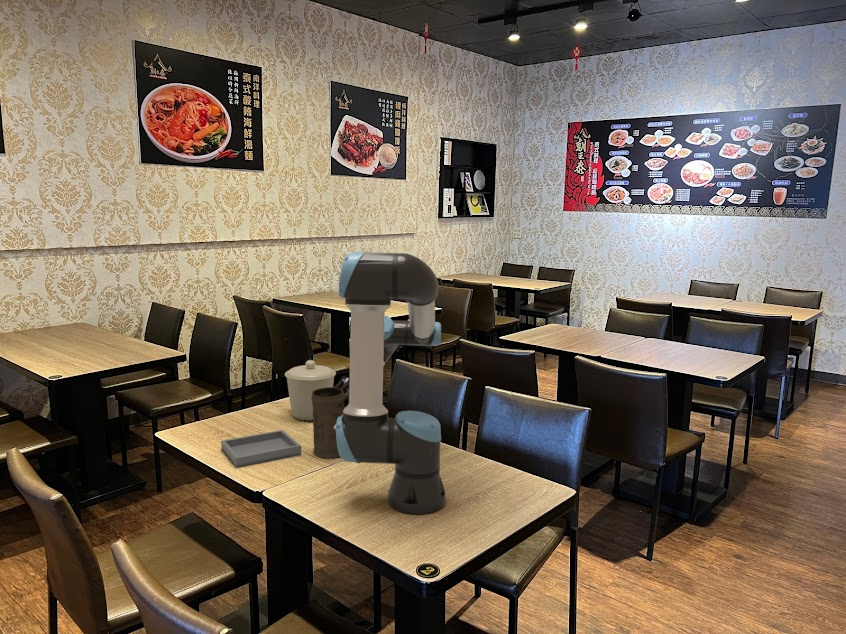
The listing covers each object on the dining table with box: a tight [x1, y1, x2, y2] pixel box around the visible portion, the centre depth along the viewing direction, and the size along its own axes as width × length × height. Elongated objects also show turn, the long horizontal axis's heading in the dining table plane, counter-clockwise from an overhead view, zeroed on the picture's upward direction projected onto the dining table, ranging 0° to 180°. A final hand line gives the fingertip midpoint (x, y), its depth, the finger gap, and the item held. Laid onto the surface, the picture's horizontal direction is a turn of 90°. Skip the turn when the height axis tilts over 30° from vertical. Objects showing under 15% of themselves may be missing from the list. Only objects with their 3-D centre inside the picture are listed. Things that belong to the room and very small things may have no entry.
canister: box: [284, 359, 337, 422], centre depth 227 cm, size 18×18×21 cm
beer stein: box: [311, 386, 349, 459], centre depth 196 cm, size 15×11×20 cm
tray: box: [220, 429, 302, 469], centre depth 194 cm, size 16×20×3 cm
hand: (327, 426), depth 193 cm, fingers closed on beer stein, 9 cm apart
